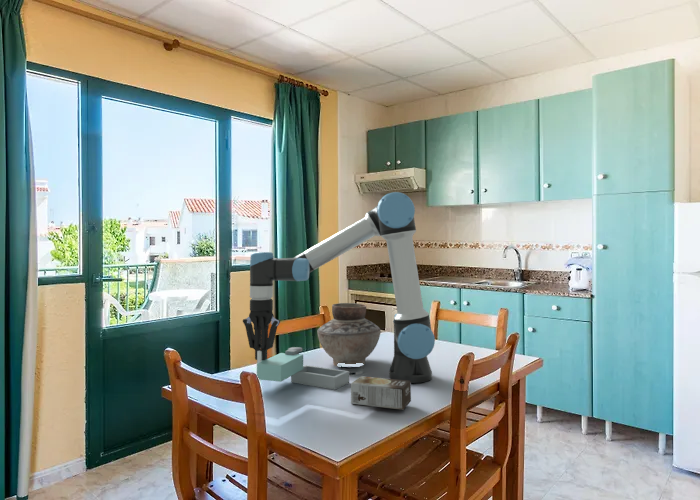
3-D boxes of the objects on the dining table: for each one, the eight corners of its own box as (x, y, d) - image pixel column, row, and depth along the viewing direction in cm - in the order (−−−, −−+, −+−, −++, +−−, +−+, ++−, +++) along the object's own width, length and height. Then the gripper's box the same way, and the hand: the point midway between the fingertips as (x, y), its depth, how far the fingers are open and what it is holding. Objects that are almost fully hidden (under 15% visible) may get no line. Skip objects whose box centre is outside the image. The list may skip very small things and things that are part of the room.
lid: (281, 381, 149) (281, 361, 149) (256, 379, 152) (256, 359, 152) (309, 365, 170) (309, 347, 170) (287, 363, 173) (287, 346, 173)
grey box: (349, 383, 163) (349, 355, 163) (335, 389, 155) (335, 360, 155) (300, 375, 174) (300, 349, 174) (284, 381, 166) (284, 353, 166)
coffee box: (360, 375, 149) (411, 379, 143) (360, 395, 149) (411, 401, 143) (350, 383, 140) (403, 388, 135) (350, 404, 140) (404, 410, 135)
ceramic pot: (390, 361, 194) (390, 303, 194) (363, 376, 172) (363, 310, 172) (336, 355, 205) (336, 300, 205) (305, 368, 183) (305, 306, 183)
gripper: (284, 298, 160) (283, 368, 160) (249, 296, 164) (249, 365, 164) (273, 300, 153) (273, 374, 152) (238, 298, 157) (237, 370, 156)
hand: (261, 369), depth 158 cm, fingers closed
